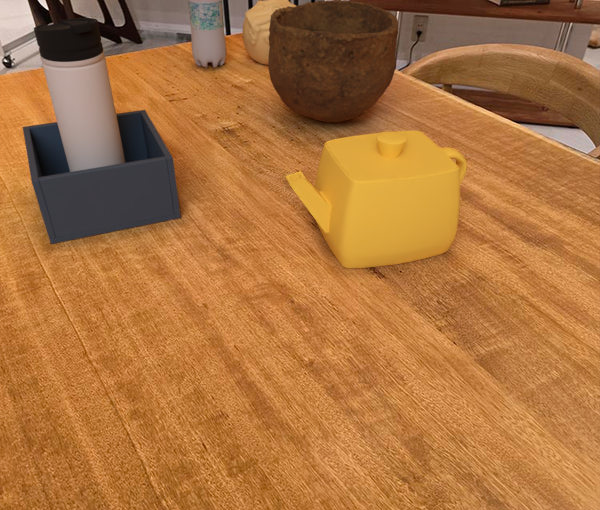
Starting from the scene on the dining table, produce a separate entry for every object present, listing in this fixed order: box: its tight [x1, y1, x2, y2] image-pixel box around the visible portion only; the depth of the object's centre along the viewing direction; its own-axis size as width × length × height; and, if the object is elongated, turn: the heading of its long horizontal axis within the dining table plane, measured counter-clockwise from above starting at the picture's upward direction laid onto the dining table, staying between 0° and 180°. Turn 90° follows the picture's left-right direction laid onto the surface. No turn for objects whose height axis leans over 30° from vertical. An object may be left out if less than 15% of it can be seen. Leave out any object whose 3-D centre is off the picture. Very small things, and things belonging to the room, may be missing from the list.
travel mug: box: [33, 17, 125, 172], centre depth 64 cm, size 6×7×20 cm
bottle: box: [187, 0, 227, 69], centre depth 104 cm, size 7×7×20 cm
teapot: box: [284, 130, 468, 269], centre depth 62 cm, size 20×12×12 cm, turn 106°
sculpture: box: [241, 0, 297, 66], centre depth 109 cm, size 11×12×11 cm
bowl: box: [267, 0, 400, 123], centre depth 87 cm, size 19×19×15 cm
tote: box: [22, 109, 182, 245], centre depth 69 cm, size 14×14×8 cm
